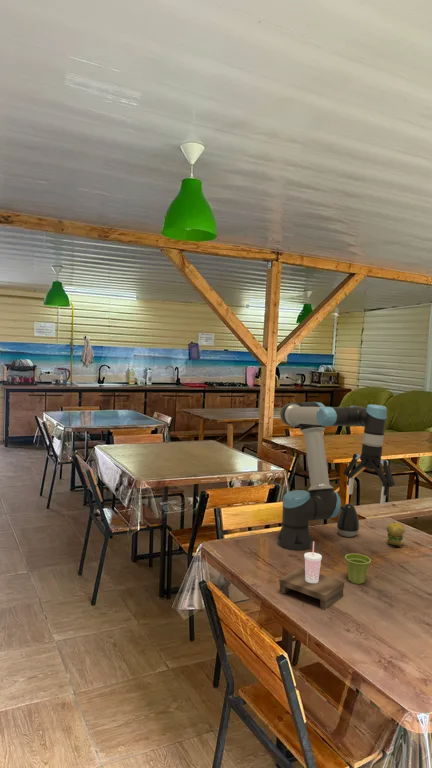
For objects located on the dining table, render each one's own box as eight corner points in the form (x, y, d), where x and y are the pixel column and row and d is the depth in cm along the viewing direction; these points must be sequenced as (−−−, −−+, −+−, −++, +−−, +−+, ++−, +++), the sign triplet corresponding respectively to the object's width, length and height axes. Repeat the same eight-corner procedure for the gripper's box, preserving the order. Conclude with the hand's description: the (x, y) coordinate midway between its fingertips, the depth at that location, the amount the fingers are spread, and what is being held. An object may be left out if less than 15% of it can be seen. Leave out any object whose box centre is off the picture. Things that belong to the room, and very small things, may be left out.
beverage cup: (317, 585, 177) (318, 546, 177) (300, 581, 181) (302, 542, 180) (323, 579, 183) (324, 540, 182) (306, 575, 186) (308, 537, 185)
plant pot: (370, 577, 197) (371, 555, 197) (369, 588, 188) (370, 564, 188) (345, 573, 200) (346, 551, 200) (342, 583, 191) (344, 560, 191)
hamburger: (405, 545, 232) (406, 519, 232) (401, 550, 226) (403, 523, 225) (388, 542, 236) (389, 516, 236) (383, 546, 230) (385, 520, 230)
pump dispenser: (333, 531, 248) (334, 500, 248) (354, 531, 249) (355, 500, 248) (340, 539, 238) (341, 506, 237) (361, 539, 239) (363, 506, 238)
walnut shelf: (278, 592, 182) (279, 579, 182) (299, 580, 193) (299, 567, 193) (324, 610, 171) (325, 595, 170) (343, 595, 181) (344, 581, 181)
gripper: (408, 450, 193) (400, 505, 194) (348, 438, 210) (341, 489, 211) (399, 452, 188) (392, 508, 189) (338, 439, 204) (332, 491, 206)
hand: (365, 498), depth 200 cm, fingers open, 13 cm apart
